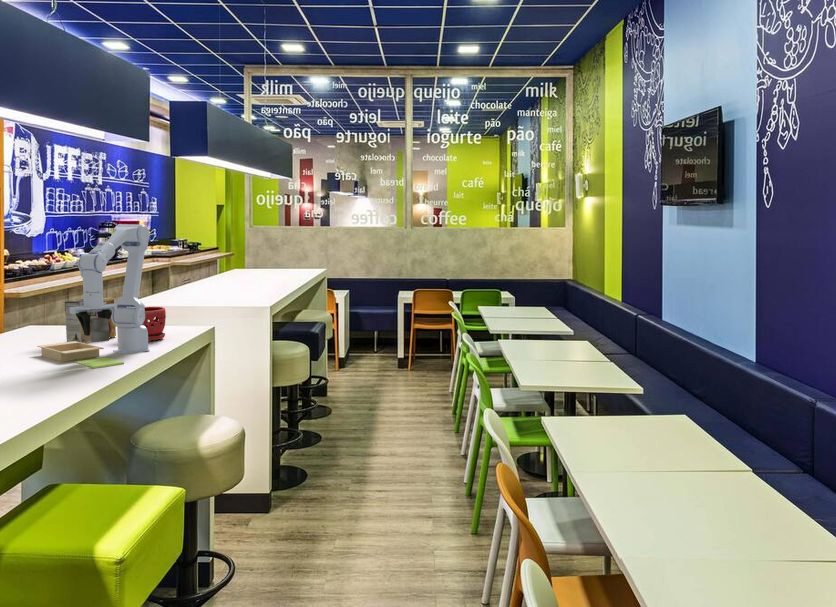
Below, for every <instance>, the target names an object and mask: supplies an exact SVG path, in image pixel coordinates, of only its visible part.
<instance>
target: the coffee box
mask: <svg viewBox="0 0 836 607" xmlns="http://www.w3.org/2000/svg"><path fill="white" fill-rule="evenodd" d="M77 306H84V298H79V299H73V300H72V299H71V300H67V301H66V300H65V301H64V313H65V330H66V332H65V333H66V336H65V337H66V342H72V341H77V342H81V343H85V344H89V345H90V344H93V343H94V342H91V341H86V340H82V339H81V325H80V321H79V320H78V318H77V317H76V314H70V307H77ZM90 310H96V309H90ZM85 311H86V310H85ZM87 313H88V314H90V315H91V316H95V317H96V312H87Z"/></svg>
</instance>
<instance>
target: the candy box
mask: <svg viewBox="0 0 836 607" xmlns="http://www.w3.org/2000/svg"><path fill="white" fill-rule="evenodd" d="M103 304H115V299H114V297H103ZM96 310H99V309H96ZM110 311H112V310H110ZM97 312H98V311H97ZM97 312H96V317H98V314H97ZM108 326H109V337H114V338H116V337H117V329H116V328H117V327H115V324H114V323H113V322H112V320H111V317H110V319H109V321H108ZM115 336H116V337H115Z"/></svg>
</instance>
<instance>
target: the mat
mask: <svg viewBox="0 0 836 607" xmlns="http://www.w3.org/2000/svg"><path fill="white" fill-rule="evenodd" d="M73 361H74V363H76V364H79V365H83V366H87V367H88V368H90V369H93V370H94V369H100V367H101V368H106V367H112V366H118V365H119V364H120V365H123V364H125V362H124V361H122V360H119V359H118V360H117V359H114V358H109V357H94V358H87V359H82V360H81V359H80V360H73Z"/></svg>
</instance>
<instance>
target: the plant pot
mask: <svg viewBox="0 0 836 607" xmlns="http://www.w3.org/2000/svg"><path fill="white" fill-rule="evenodd" d="M166 315H167V313H166V308H165V307H162V306H145V320H144V322H143V324H142V325H144V326H145V327H146V328H147V331H148V342H152V341H151V340H156V341H159V340H158V339H160V340H162V339H164V338H165V337H166V333H165V332H164V329H165V327H166V318H167V316H166Z"/></svg>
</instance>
